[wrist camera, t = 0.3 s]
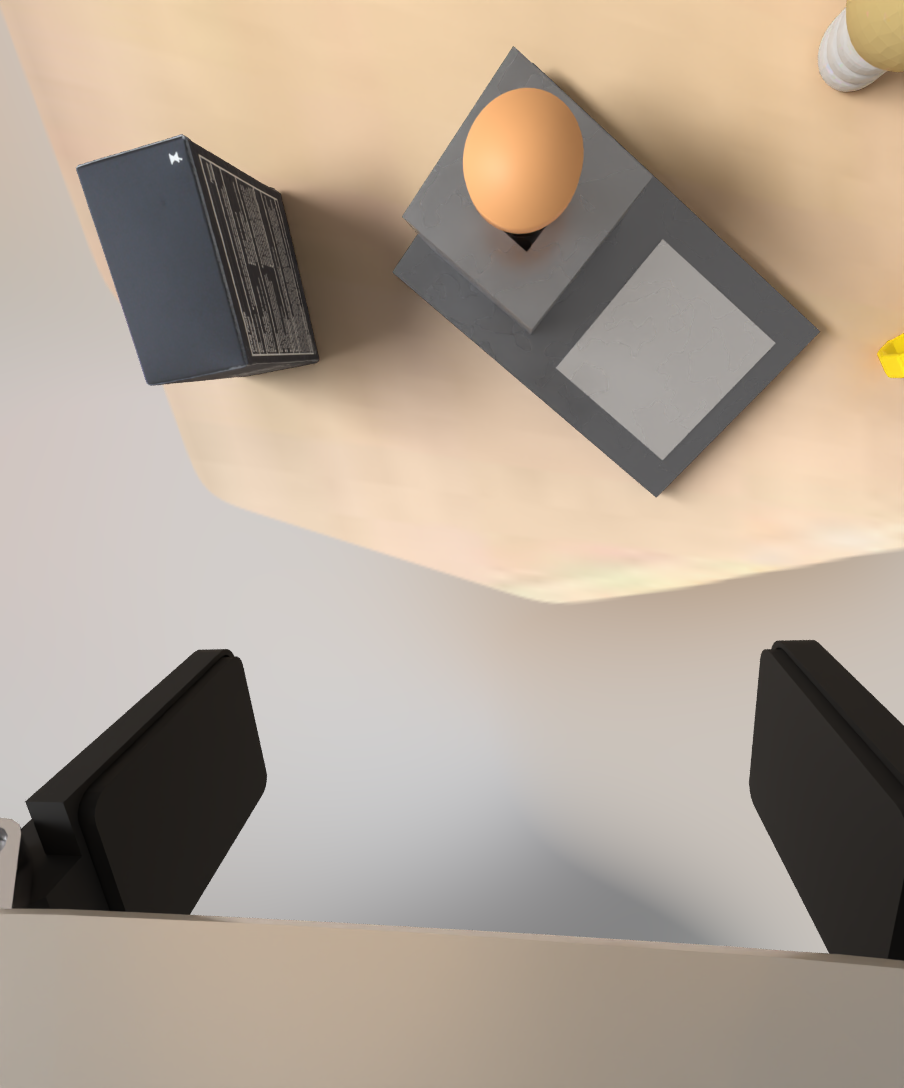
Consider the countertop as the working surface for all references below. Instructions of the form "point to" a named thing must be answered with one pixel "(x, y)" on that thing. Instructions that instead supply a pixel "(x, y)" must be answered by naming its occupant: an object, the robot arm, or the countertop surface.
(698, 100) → the countertop surface
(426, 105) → the countertop surface
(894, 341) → the watch
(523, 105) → the light orange ellipsoid
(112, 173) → the small box
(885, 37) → the light bulb
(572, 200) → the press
